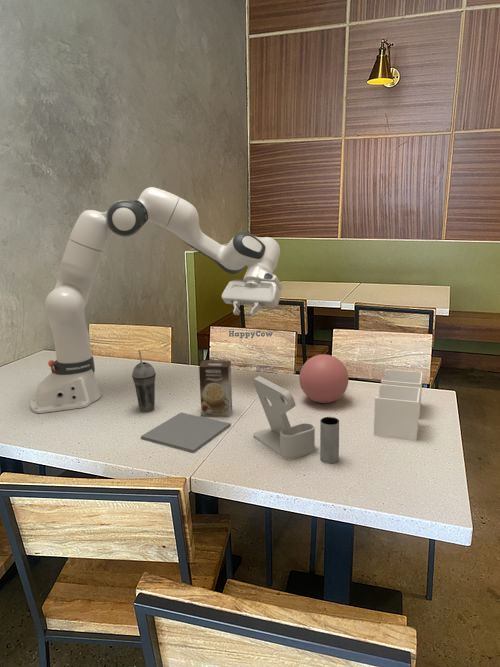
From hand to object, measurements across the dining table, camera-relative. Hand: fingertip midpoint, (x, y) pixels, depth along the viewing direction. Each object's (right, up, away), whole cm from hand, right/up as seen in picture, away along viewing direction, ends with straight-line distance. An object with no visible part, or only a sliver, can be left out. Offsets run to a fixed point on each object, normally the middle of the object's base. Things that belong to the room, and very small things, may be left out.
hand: (242, 314), depth 159 cm
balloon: (+27, -28, 0) cm, 39 cm away
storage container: (+46, -31, -16) cm, 58 cm away
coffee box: (-8, -31, -8) cm, 33 cm away
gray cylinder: (+22, -37, -37) cm, 57 cm away
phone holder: (+11, -36, -28) cm, 47 cm away
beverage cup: (-30, -30, -4) cm, 43 cm away
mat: (-16, -34, -20) cm, 43 cm away
